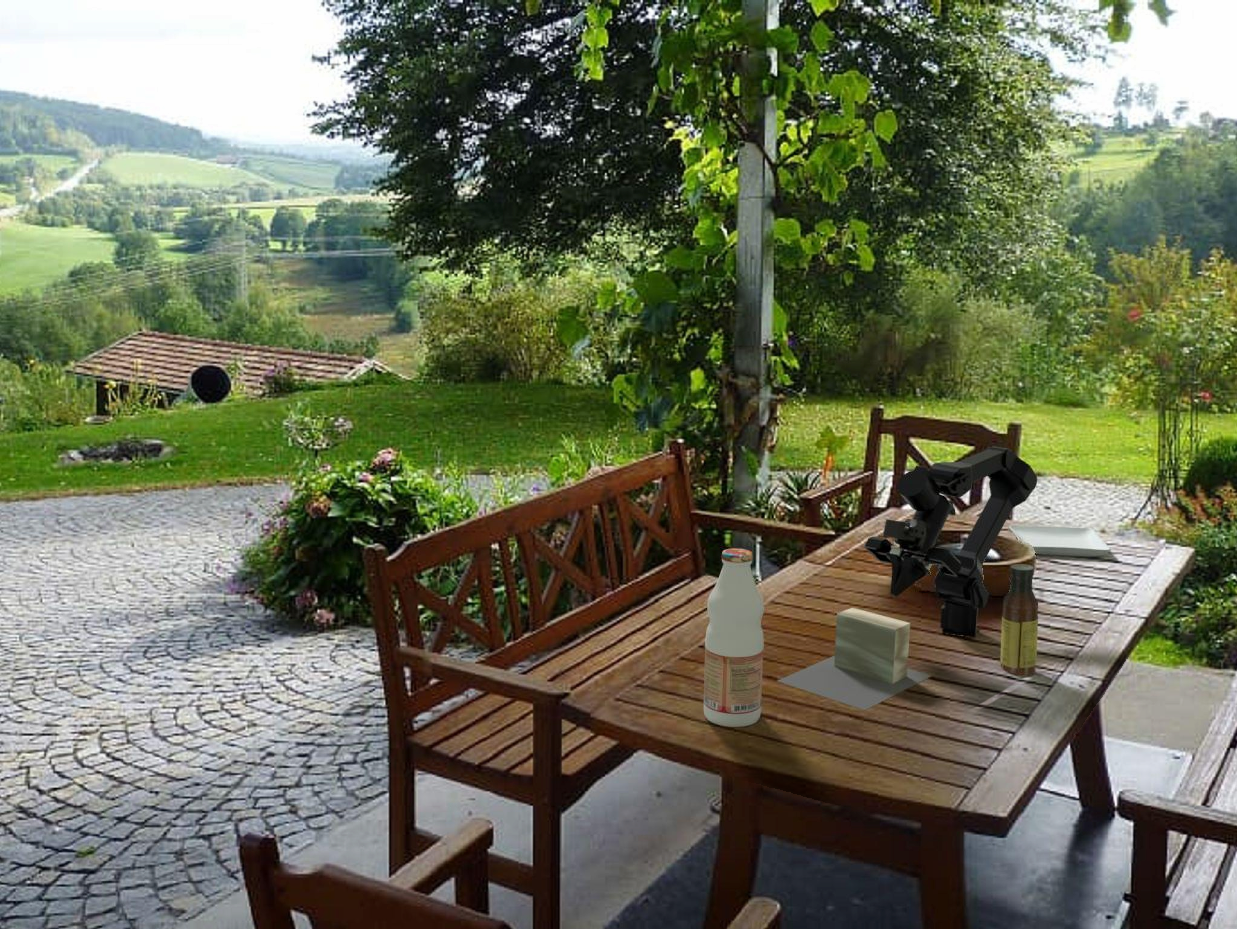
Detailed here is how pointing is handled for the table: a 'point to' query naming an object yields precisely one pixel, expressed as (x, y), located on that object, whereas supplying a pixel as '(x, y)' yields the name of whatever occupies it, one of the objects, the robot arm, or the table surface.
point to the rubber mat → (849, 684)
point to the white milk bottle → (734, 645)
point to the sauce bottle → (1019, 623)
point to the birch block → (872, 645)
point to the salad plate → (1061, 540)
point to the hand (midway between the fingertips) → (893, 595)
